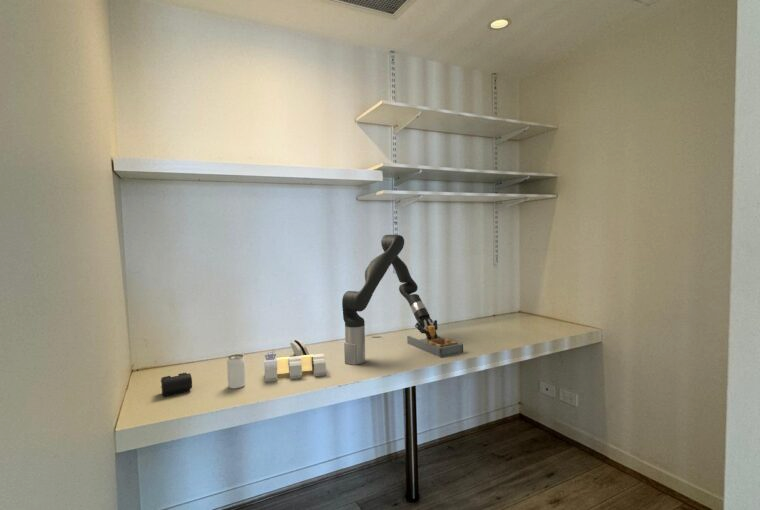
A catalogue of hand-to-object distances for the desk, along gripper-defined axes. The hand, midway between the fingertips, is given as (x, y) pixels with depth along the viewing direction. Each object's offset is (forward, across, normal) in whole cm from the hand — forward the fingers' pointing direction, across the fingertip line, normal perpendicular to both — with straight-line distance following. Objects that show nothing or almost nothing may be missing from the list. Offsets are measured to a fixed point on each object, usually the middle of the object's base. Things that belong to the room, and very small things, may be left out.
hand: (433, 338), depth 204 cm
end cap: (+2, -119, +5) cm, 120 cm away
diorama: (+6, -74, +2) cm, 74 cm away
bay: (+4, 0, +3) cm, 5 cm away
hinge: (-10, -65, +18) cm, 68 cm away
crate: (+6, 0, -1) cm, 6 cm away
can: (+6, -98, +2) cm, 98 cm away
